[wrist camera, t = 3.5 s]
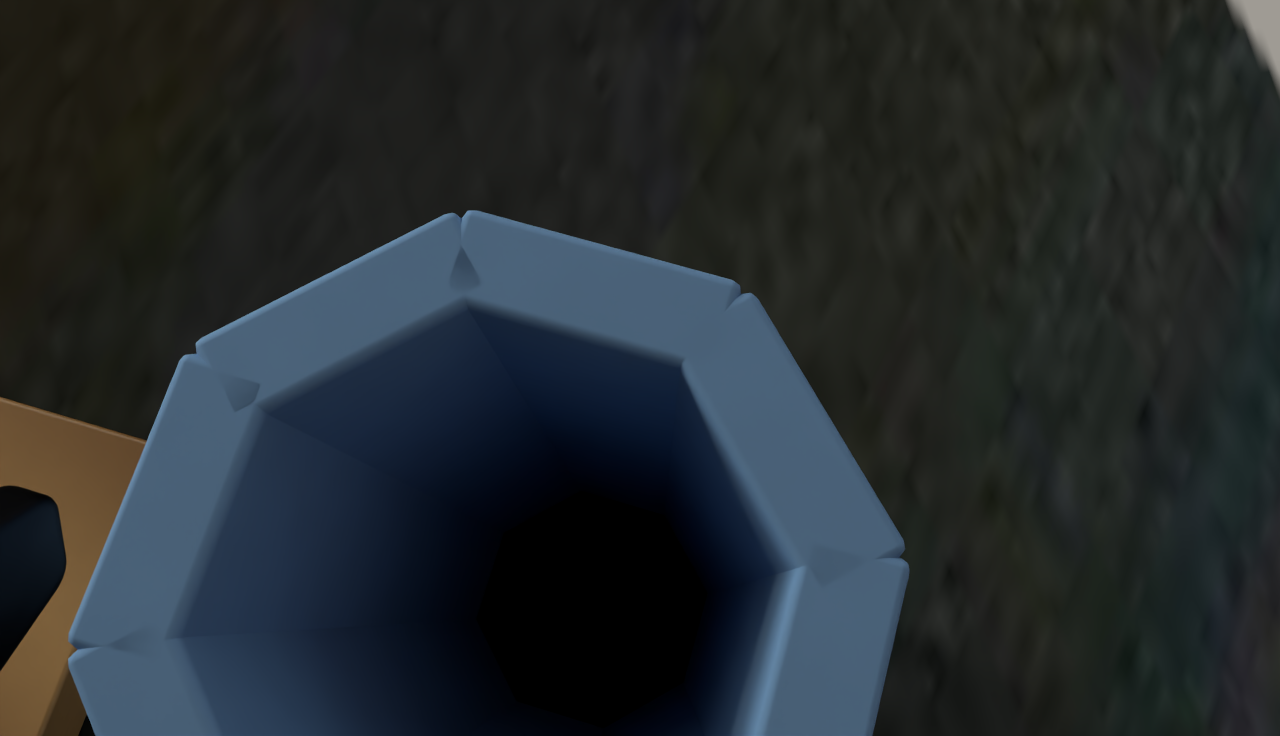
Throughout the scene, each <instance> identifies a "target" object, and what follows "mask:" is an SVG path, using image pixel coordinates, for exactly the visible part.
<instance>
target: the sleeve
mask: <svg viewBox="0 0 1280 736" xmlns="http://www.w3.org/2000/svg"><path fill="white" fill-rule="evenodd" d="M196 351H197V354H190V355H184V356H183V357H182V359H181V360H180V361H179V363H178V366H177V368H176V371H175V373H174V376H173V378H172V381H171V383H170V386H169V388H168V390H167V393H166V395H165V398H164V400H163V403H162V405H161V408H160V410H159V413H158V415H157V418H156V420H155V422H154V425H153V427H152V430H151V432H150V435H149V437H148V440H147V442H146V445H145V447H144V449H143V452H142V454H141V457H140V459H139V462H138V464H137V467H136V469H135V472H134V474H133V477H132V479H131V481H130V484H129V486H128V489H127V491H126V494H125V496H124V499H123V501H122V504H121V506H120V508H119V511H118V513H117V516H116V518H115V521H114V523H113V526H112V528H111V531H110V533H109V536H108V538H107V540H106V543H105V545H104V548H103V550H102V553H101V555H100V558H99V560H98V563H97V565H96V567H95V570H94V572H93V575H92V577H91V580H90V582H89V585H88V587H87V590H86V592H85V595H84V597H83V599H82V602H81V604H80V607H79V609H78V612H77V614H76V617H75V619H74V622H73V624H72V626H71V629H70V631H69V636H68V642H69V643H70V644H72V645H73V646H74V647H75V648H76V649H78V650H77V651H76V652H75V653H74V654H73V655H72V656H71V657H70V658H69V659H68V667H69V670H70V672H71V675H72V677H73V680H74V682H75V685H76V687H77V690H78V693H79V695H80V698H81V700H82V703H83V705H84V708H85V710H86V713H87V715H88V718H89V720H90V723H91V725H92V728H93V730H94V733H95V735H96V736H872V735H873V731H874V726H875V722H876V717H877V713H878V709H879V704H880V700H881V695H882V691H883V687H884V682H885V678H886V673H887V669H888V665H889V660H890V656H891V651H892V647H893V643H894V638H895V634H896V629H897V625H898V621H899V616H900V612H901V607H902V603H903V599H904V594H905V590H906V585H907V581H908V577H909V566H908V563H907V562H905V561H904V560H903V559H902V558H899V557H900V556H901V554H902V553H903V552H904V550H905V547H904V541H903V539H902V537H901V535H900V534H899V532H898V530H897V529H896V527H895V525H894V524H893V522H892V520H891V519H890V517H889V516H888V514H887V512H886V511H885V509H884V507H883V506H882V504H881V502H880V501H879V499H878V497H877V496H876V494H875V492H874V491H873V489H872V487H871V486H870V484H869V482H868V481H867V479H866V477H865V476H864V474H863V472H862V471H861V469H860V467H859V466H858V464H857V462H856V461H855V459H854V457H853V456H852V454H851V452H850V451H849V449H848V447H847V446H846V444H845V443H844V441H843V439H842V438H841V436H840V434H839V433H838V431H837V429H836V428H835V426H834V424H833V423H832V421H831V419H830V418H829V416H828V414H827V413H826V411H825V409H824V408H823V406H822V404H821V403H820V401H819V399H818V398H817V396H816V394H815V393H814V391H813V389H812V388H811V386H810V384H809V383H808V381H807V379H806V378H805V376H804V374H803V373H802V371H801V370H800V368H799V366H798V365H797V363H796V361H795V360H794V358H793V356H792V355H791V353H790V351H789V350H788V348H787V346H786V345H785V343H784V341H783V340H782V338H781V336H780V335H779V333H778V331H777V330H776V328H775V326H774V325H773V323H772V321H771V320H770V318H769V316H768V315H767V313H766V311H765V310H764V308H763V306H762V305H761V303H760V301H759V300H758V298H757V297H755V296H754V295H753V294H751V293H747V294H741V291H740V285H738V284H737V283H736V282H734V281H733V280H730V279H726V278H723V277H719V276H715V275H712V274H708V273H704V272H701V271H697V270H693V269H690V268H686V267H682V266H679V265H675V264H671V263H668V262H664V261H660V260H657V259H653V258H649V257H646V256H642V255H638V254H635V253H631V252H627V251H624V250H620V249H616V248H612V247H609V246H605V245H601V244H598V243H594V242H590V241H587V240H583V239H579V238H576V237H572V236H568V235H565V234H561V233H557V232H554V231H550V230H546V229H543V228H539V227H535V226H532V225H528V224H524V223H521V222H517V221H513V220H510V219H506V218H502V217H499V216H495V215H491V214H487V213H484V212H480V211H467V213H466V214H465V215H464V216H463V218H462V219H461V218H460V217H459V216H457V215H456V214H455V213H450V214H445V215H443V216H441V217H439V218H437V219H435V220H433V221H431V222H429V223H427V224H425V225H423V226H421V227H419V228H417V229H415V230H413V231H411V232H409V233H407V234H405V235H403V236H401V237H399V238H397V239H396V240H394V241H392V242H390V243H388V244H386V245H384V246H382V247H380V248H378V249H376V250H374V251H372V252H370V253H368V254H366V255H364V256H362V257H360V258H358V259H356V260H354V261H352V262H350V263H348V264H346V265H344V266H342V267H340V268H338V269H336V270H334V271H333V272H331V273H329V274H327V275H325V276H323V277H321V278H319V279H317V280H315V281H313V282H311V283H309V284H307V285H305V286H303V287H301V288H299V289H297V290H295V291H293V292H291V293H289V294H287V295H285V296H283V297H281V298H279V299H277V300H275V301H273V302H272V303H270V304H268V305H266V306H264V307H262V308H260V309H258V310H256V311H254V312H252V313H250V314H248V315H246V316H244V317H242V318H240V319H238V320H236V321H234V322H232V323H230V324H228V325H226V326H224V327H222V328H220V329H218V330H216V331H214V332H212V333H210V334H209V335H207V336H205V337H203V338H201V339H200V340H199V341H198V342H197V343H196ZM580 491H584V492H587V493H591V494H594V495H597V496H601V497H604V498H608V499H611V500H614V501H618V502H621V503H625V504H628V505H632V506H635V507H638V508H642V509H645V510H649V511H652V512H656V513H659V514H662V515H665V517H666V519H667V521H668V523H669V524H670V526H671V528H672V530H673V532H674V534H675V535H676V537H677V539H678V541H679V543H680V544H681V546H682V548H683V550H684V552H685V553H686V555H687V557H688V559H689V561H690V563H691V564H692V566H693V568H694V570H695V572H696V573H697V575H698V577H699V579H700V581H701V583H702V584H703V586H704V588H705V590H706V592H707V593H708V594H707V597H706V601H705V605H704V608H703V612H702V616H701V619H700V623H699V627H698V631H697V634H696V638H695V642H694V645H693V649H692V653H691V656H690V660H689V664H688V668H687V671H686V675H685V679H684V682H683V683H682V684H680V685H678V686H676V687H675V688H673V689H671V690H669V691H668V692H666V693H664V694H662V695H661V696H659V697H657V698H655V699H654V700H652V701H650V702H649V703H647V704H645V705H643V706H642V707H640V708H638V709H636V710H635V711H633V712H631V713H629V714H628V715H626V716H624V717H622V718H621V719H619V720H617V721H615V722H614V723H612V724H610V725H608V726H607V727H605V728H601V727H598V726H595V725H592V724H588V723H585V722H582V721H579V720H575V719H572V718H569V717H566V716H563V715H559V714H556V713H553V712H550V711H547V710H543V709H540V708H537V707H534V706H530V705H527V704H524V703H521V702H518V701H516V699H515V697H514V695H513V693H512V691H511V689H510V687H509V685H508V683H507V681H506V679H505V677H504V674H503V672H502V670H501V668H500V666H499V664H498V662H497V660H496V658H495V656H494V654H493V652H492V650H491V648H490V646H489V644H488V642H487V640H486V638H485V636H484V634H483V632H482V630H481V628H480V626H479V624H478V622H477V620H476V619H477V616H478V612H479V609H480V606H481V603H482V600H483V597H484V594H485V590H486V587H487V584H488V581H489V578H490V575H491V572H492V569H493V565H494V562H495V559H496V556H497V553H498V550H499V547H500V543H501V540H502V537H503V534H504V533H505V532H506V531H508V530H510V529H512V528H514V527H516V526H517V525H519V524H521V523H523V522H525V521H527V520H528V519H530V518H532V517H534V516H536V515H538V514H539V513H541V512H543V511H545V510H547V509H549V508H550V507H552V506H554V505H556V504H558V503H559V502H561V501H563V500H565V499H567V498H569V497H570V496H572V495H574V494H576V493H578V492H580Z"/></svg>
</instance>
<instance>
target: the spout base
mask: <svg viewBox="0 0 1280 736" xmlns="http://www.w3.org/2000/svg"><path fill="white" fill-rule="evenodd" d="M146 442H147V441H146V440H143V439H140V438H136V437H133V436H130V435H126V434H123V433H119V432H116V431H113V430H109V429H106V428H103V427H99V426H96V425H93V424H89V423H86V422H83V421H79V420H76V419H73V418H69V417H66V416H63V415H59V414H56V413H53V412H49V411H46V410H42V409H39V408H36V407H32V406H29V405H26V404H22V403H19V402H16V401H12V400H9V399H6V398H2V397H0V487H2V486H7V485H13V486H19V487H22V488H26V489H29V490H32V491H35V492H39V493H42V494H45V495H48V496H50V497H51V498H52V499H53V500H54V501H55V502H56V504H57V506H58V509H59V515H60V521H61V527H62V534H63V540H64V546H65V552H66V560H67V563H66V570H65V574H64V577H63V579H62V581H61V584H60V586H59V587H58V589H57V591H56V592H55V593H54V595H53V596H52V598H51V599H50V601H49V602H48V604H47V605H46V606H45V608H44V609H43V611H42V612H41V614H40V615H39V616H38V618H37V619H36V621H35V622H34V624H33V625H32V627H31V628H30V629H29V631H28V632H27V634H26V635H25V637H24V638H23V640H22V641H21V642H20V644H19V645H18V647H17V648H16V650H15V651H14V653H13V654H12V655H11V657H10V658H9V660H8V661H7V663H6V664H5V666H4V667H3V668H2V670H1V671H0V736H78V735H79V732H80V730H81V727H82V725H83V722H84V720H85V717H86V715H87V713H86V710H85V708H84V705H83V703H82V700H81V698H80V695H79V693H78V690H77V687H76V685H75V682H74V680H73V677H72V675H71V672H70V670H69V667H68V659H69V658H70V657H71V656H72V655H73V654H74V653H75V652H76V651H77V650H78V649H76V648H75V647H74V646H73V645H72V644H70V643H69V642H68V636H69V631H70V629H71V626H72V624H73V622H74V619H75V617H76V614H77V612H78V609H79V607H80V604H81V602H82V599H83V597H84V595H85V592H86V590H87V587H88V585H89V582H90V580H91V577H92V575H93V572H94V570H95V567H96V565H97V563H98V560H99V558H100V555H101V553H102V550H103V548H104V545H105V543H106V540H107V538H108V536H109V533H110V531H111V528H112V526H113V523H114V521H115V518H116V516H117V513H118V511H119V508H120V506H121V504H122V501H123V499H124V496H125V494H126V491H127V489H128V486H129V484H130V481H131V479H132V477H133V474H134V472H135V469H136V467H137V464H138V462H139V459H140V457H141V454H142V452H143V449H144V447H145V445H146Z"/></svg>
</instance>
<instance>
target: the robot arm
mask: <svg viewBox="0 0 1280 736" xmlns="http://www.w3.org/2000/svg"><path fill="white" fill-rule="evenodd" d="M66 563H67V560H66V552H65V546H64V540H63V534H62V527H61V521H60V515H59V509H58V506H57V504H56V502H55V501H54V500H53V499H52V498H51V497H50V496H48V495H45V494H42V493H39V492H35V491H32V490H29V489H26V488H22V487H19V486H13V485H7V486H2V487H0V671H1V670H2V668H3V667H4V666H5V664H6V663H7V661H8V660H9V658H10V657H11V655H12V654H13V653H14V651H15V650H16V648H17V647H18V645H19V644H20V642H21V641H22V640H23V638H24V637H25V635H26V634H27V632H28V631H29V629H30V628H31V627H32V625H33V624H34V622H35V621H36V619H37V618H38V616H39V615H40V614H41V612H42V611H43V609H44V608H45V606H46V605H47V604H48V602H49V601H50V599H51V598H52V596H53V595H54V593H55V592H56V591H57V589H58V587H59V586H60V584H61V581H62V579H63V577H64V574H65V570H66Z"/></svg>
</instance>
